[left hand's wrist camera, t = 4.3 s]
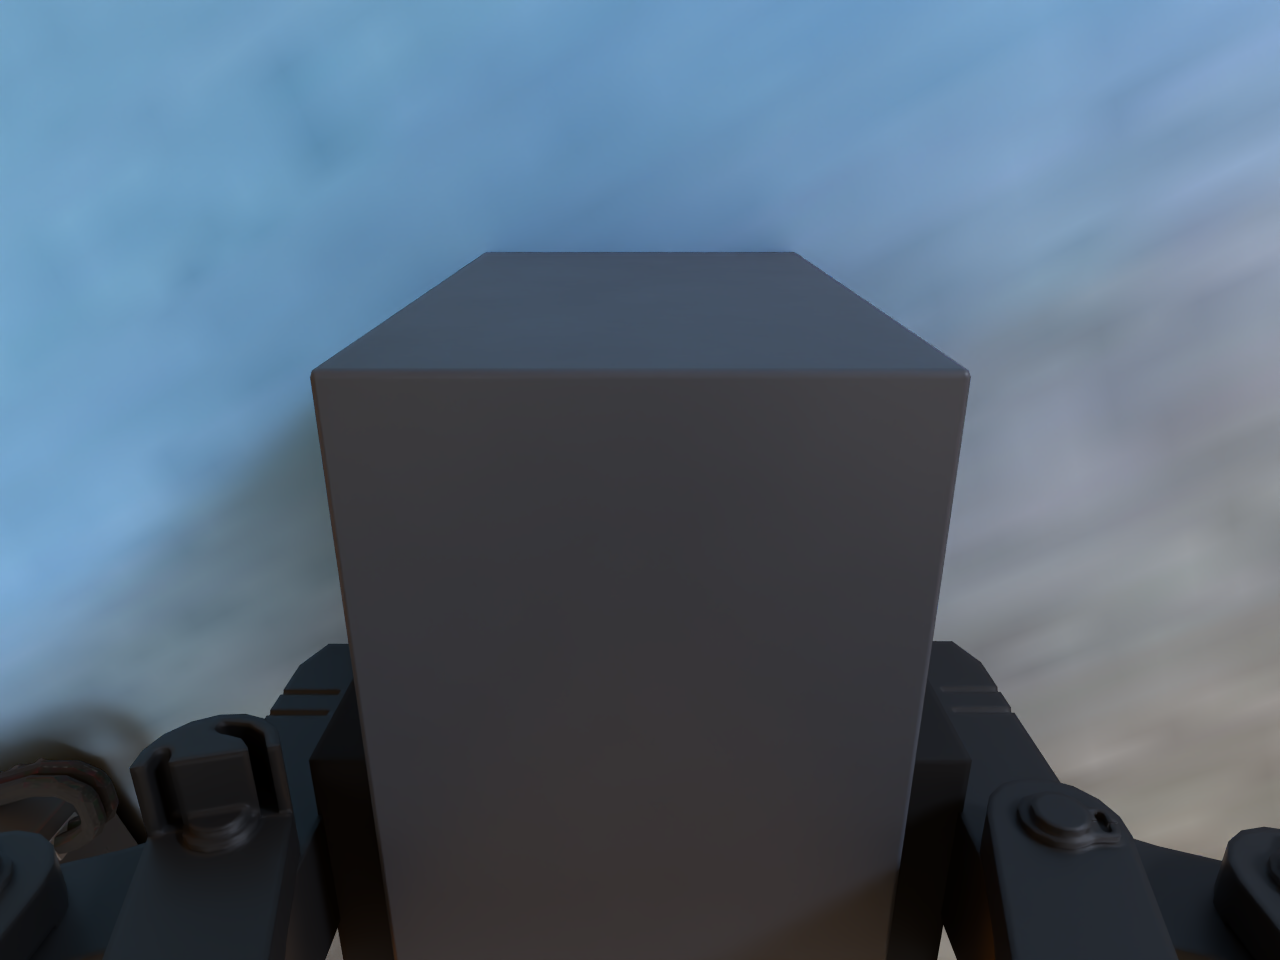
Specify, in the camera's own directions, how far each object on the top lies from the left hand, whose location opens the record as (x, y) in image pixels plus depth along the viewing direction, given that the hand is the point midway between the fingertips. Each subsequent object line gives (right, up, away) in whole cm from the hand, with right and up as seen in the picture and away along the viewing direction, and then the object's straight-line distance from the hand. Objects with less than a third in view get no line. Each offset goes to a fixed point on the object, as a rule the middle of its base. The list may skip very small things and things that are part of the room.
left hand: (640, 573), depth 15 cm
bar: (0, -30, +12) cm, 32 cm away
